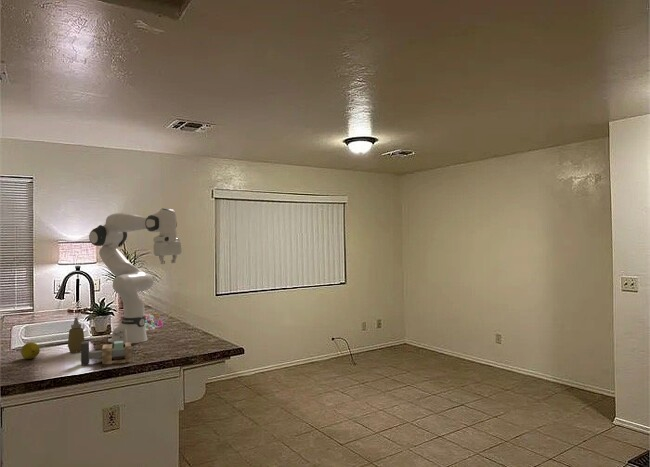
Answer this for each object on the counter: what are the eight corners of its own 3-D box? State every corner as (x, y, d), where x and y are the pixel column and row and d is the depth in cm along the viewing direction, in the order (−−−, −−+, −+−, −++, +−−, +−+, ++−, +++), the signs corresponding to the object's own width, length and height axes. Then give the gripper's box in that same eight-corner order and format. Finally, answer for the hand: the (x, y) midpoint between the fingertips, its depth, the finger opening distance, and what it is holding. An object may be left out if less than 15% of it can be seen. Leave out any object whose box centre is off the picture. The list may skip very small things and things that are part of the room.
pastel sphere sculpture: (126, 325, 318) (126, 312, 318) (163, 323, 325) (163, 310, 325) (122, 333, 294) (122, 318, 294) (162, 330, 301) (162, 316, 301)
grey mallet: (81, 365, 219) (81, 343, 219) (82, 362, 223) (82, 341, 223) (133, 359, 227) (133, 339, 227) (133, 357, 232) (133, 337, 232)
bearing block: (102, 364, 220) (102, 348, 220) (103, 360, 229) (103, 344, 229) (131, 361, 225) (130, 346, 225) (131, 357, 233) (130, 342, 233)
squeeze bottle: (87, 349, 250) (87, 316, 250) (80, 353, 242) (80, 318, 242) (72, 350, 250) (72, 316, 250) (64, 354, 242) (64, 319, 242)
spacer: (114, 351, 224) (113, 343, 224) (114, 348, 229) (114, 341, 229) (123, 350, 226) (123, 342, 226) (123, 347, 230) (123, 340, 230)
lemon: (21, 357, 235) (20, 341, 235) (39, 355, 240) (39, 339, 240) (21, 362, 226) (20, 346, 226) (39, 360, 231) (39, 343, 231)
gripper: (174, 237, 265) (174, 262, 265) (151, 238, 246) (151, 264, 246) (184, 237, 263) (184, 262, 263) (161, 238, 244) (161, 264, 244)
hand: (168, 263), depth 254 cm, fingers open, 8 cm apart
